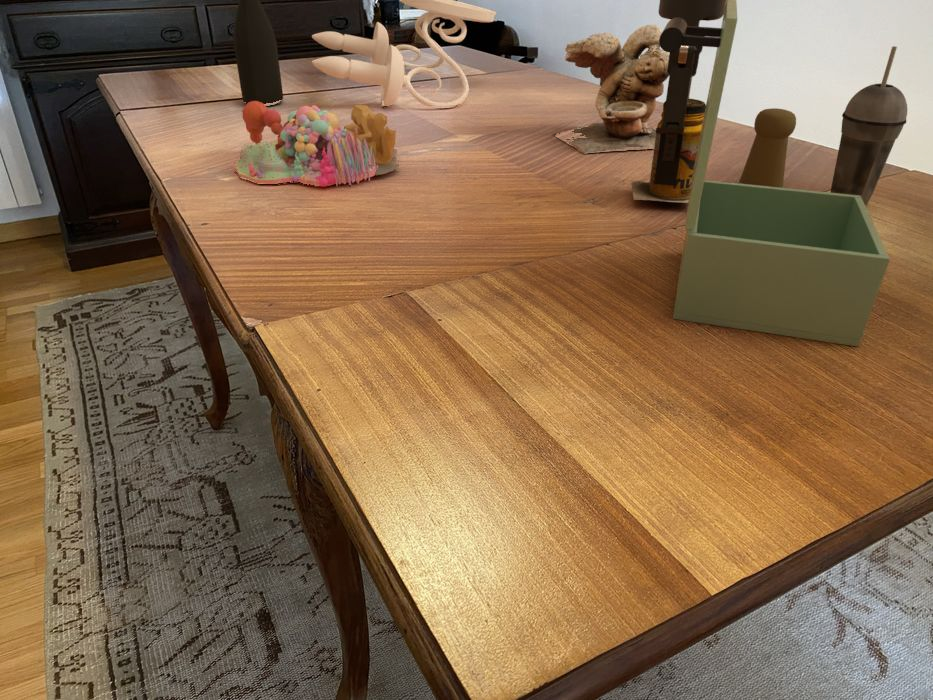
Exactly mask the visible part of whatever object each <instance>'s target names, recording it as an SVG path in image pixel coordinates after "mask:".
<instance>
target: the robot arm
mask: <svg viewBox="0 0 933 700" xmlns="http://www.w3.org/2000/svg"><path fill="white" fill-rule="evenodd" d="M725 5H726V0H659V5H658V15H659V16H660V18H662V19H665V20H671V19H673V18H682V19H684V20H685V21H686V23H687V26H695V27H700V22H701V21H705V22H706V21H707V22H710V21H716V20H719V19H722V18H723V16H724V11H725ZM690 36H693V35H690ZM703 48H704V46H691V45H682V46H681V47H680V48H679V49H678V50H677V51H675V52H669V61H668V67H667V73H668V75H669V76H668V83H667V89H666V97H665V101H666V103H665V110H664V117H663V124H662V125H661V128H657V127H656V128H655V130H656V133H658V134H661V136H660V144H659V151H658V158H657V165H656V172H655V180H654V184H660V185H671V186H675V185H676V179H677V173H678V166H679V160H680V154H681V147H682V141H683V134H684V133H683V132H684V127H685V126H684V120H685V113H686V107H687V101H688V98H689V99H690V94H691V87H692V81H693V77H695V76H696V74H697V73H698V72H697V71H698V66H699V60H700V55H701V53H702V51H703ZM675 122H678V123H675Z"/></svg>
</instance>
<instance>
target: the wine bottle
mask: <svg viewBox="0 0 933 700" xmlns="http://www.w3.org/2000/svg"><path fill="white" fill-rule="evenodd" d="M237 4H238V5H237V10H236V15H235V18H234V19H235V20H234V25H233V48H234V54H235V58H236V59H235V60H236V66H237V74H238V79H239V80H238V81H239V86H240V92H241V97H242V101H243V103H244V102H246V103H248V102H251V101H258V102H261V103H263V104H266V103H273V102H276V101H279V100H282V99H283V100H284V92H283V85H282V75H281V69H280V60H279V52H278V43H277V39H276V35H275V32H274V29H273V26H272V24H271V22H270V20H269V18H268V16H267V14H266V12H265V10H264V7H263V5H262V3H261V0H238V3H237ZM283 100H282V101H283Z"/></svg>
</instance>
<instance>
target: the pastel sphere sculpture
mask: <svg viewBox="0 0 933 700" xmlns="http://www.w3.org/2000/svg"><path fill="white" fill-rule="evenodd" d="M350 113H351V115H350V120H351V121H352V122H350V123H349V124H346V125H344V127H343V126H342V125H341V124H340V123H341V122H340V120H339V118H338V116H337V114H335V113H334V112H329V111H328V110H325V109H320V108H319V107H318V106H317V105H316V104H311V106H308V105H302V106H300V107H298V109H296V110H292V111H291V112H290V113H289V114H288V116H287V121H286V122H285V123H284V124H281V123H282V116H281V114H280V113H279V112H278V111H277V110H275V109H269V108H268V107H266V106H265V105H264V104H263V103H261V102H258V101H251V102H248V103H247V104H245V105H244V106H243V108H242V119H243V122H244V124H245V129H246V131H247V133H248V134H249V139H250V141H252V143H250V144H245V145H243V146H242V147H240V148H241V150H240V152H239V155H238V157H237V159H236V160H235V162H234V167H233V170H234V171H235V170H236V171H237V173H238V174H237V173H236V174H237V176H238V175H239V176H240V177H243V178H246V179H249V180H251V181H254V182H256V183H265V184H278V183H283V182H290V181H291V182H290V183H298V182H301V183H303V184H302V185H304V184H307V185H306V186H313V185H314V186H313V187H322V188H324V187H328V186H329V187H330V186H332V185H333V186H334V185H335V186H336V187H338V185H341V184H343V185H346V184H347V183H348V186H349V185H351V186H352V184H354V183H357V185H359V184H360V181H363V180H364V181H367V179H368V182H369V181H370V182H371V178H373V177H374V176H380V175H385V174H388V173H391V172H393V171H396V169H397V168H399V167H400V164H399V163H397V162H395V161H394V160H393V158H394V157H395V156H396V155H397V154H398V149H396V148H395V146H396V138H397V135H396V134H397V130H395V129H390V128H389V126H388V125H387V124H388V116H387V115H385V114H384V113H383V112H382V113H381V112H378V113H376V114H374V112H373V111H372V109H371V108H370V107H369V106H367V105H366V104H353V106H352V110H351V112H350ZM265 127H268V128H269V129H270V131H271V132H272V133H273V134H274V135H275V136H276V135H277V140H276V141H273V142H268V141H262V140H263V134H262V133H263V132H264V130H265ZM253 143H254V144H253ZM235 164H236V165H235ZM239 176H238V177H239ZM293 181H294V182H293ZM357 181H358V182H357ZM301 183H300V184H301ZM283 184H284V183H283ZM309 184H310V185H309ZM278 185H279V184H278Z"/></svg>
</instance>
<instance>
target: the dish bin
mask: <svg viewBox="0 0 933 700" xmlns="http://www.w3.org/2000/svg"><path fill="white" fill-rule="evenodd" d="M685 230H686V231H685V235H684V240H683V241H684V242H683V245H682V246H683V247H682V253H681V259H680V265H679V266H680V267H679V273H678V279H677V286H676V287H677V288H676V293H675V300H674V307H673V315H672V319H673V320H679V321H685V322H692V323H699V324H705V325H711V326H719V327H725V328H732V329H738V330H745V331H751V332H758V333H765V334H771V335H779V336H785V337H792V338H798V339H806V340H809V341H810V340H811V341H818V342H825V343H831V344H836V345H837V344H838V345H844V346H850V347H851V346H852V347H856V348H857V347H860V344H861V342H862V339H863V336H864V333H865V331H866V327H867V324H868V322H869V319H870V316H871V313H872V311H873V307H874V305H875V302H876V299H877V297H878V294H879V290H880V288H881V286H882V282H883V279H884V277H885V274H886V271H887V268H888V265H889V263H890V257H889V255H888V252H887V250H886V248H885V246H884V243H883V242H882V239H881V237H880V235H879V232H878V231H877V229H876V226H875V224H874V222H873V219H872V217H871V215H870V213H869V211H868V209H867V206H865V204H864V202H863V200H862V198H861V196H859V195H849V194H839V193H830V192H828V191H819V190H818V191H817V190H809V189H808V190H807V189H799V188H788V187H783V188H779V187H769V186H759V185H749V184H739V182H738V183H737V182H729V181H719V180H710V179H709V180H708V179H705V180H704V185H703V190H702V194H701V199H700V204H699V209H698V214H697V219H696V224H695V229H694V230H691V229H685Z"/></svg>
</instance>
